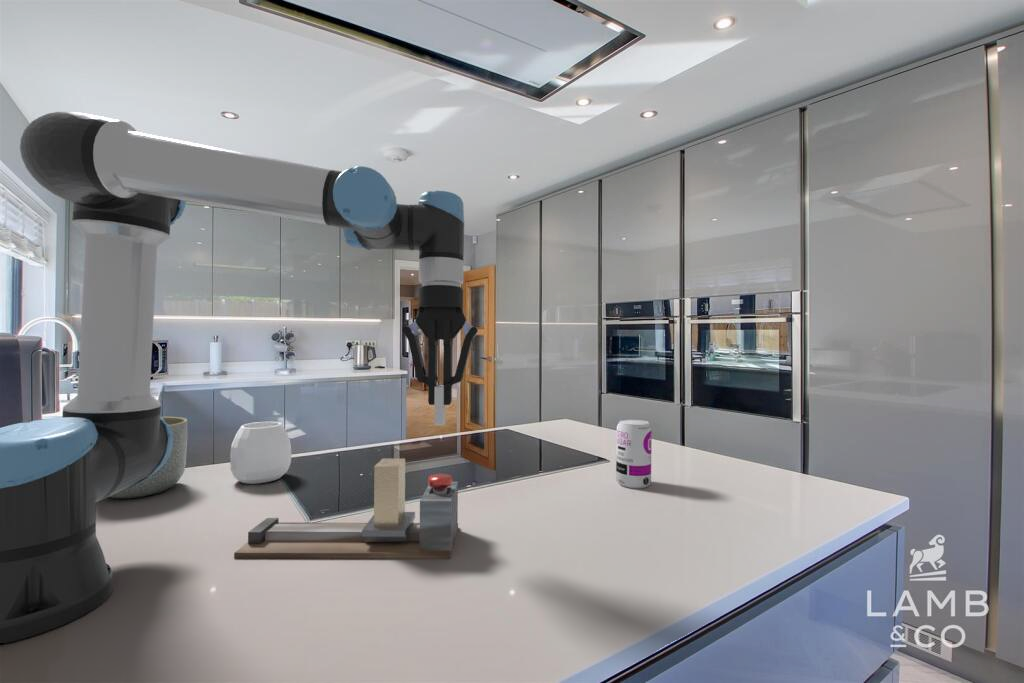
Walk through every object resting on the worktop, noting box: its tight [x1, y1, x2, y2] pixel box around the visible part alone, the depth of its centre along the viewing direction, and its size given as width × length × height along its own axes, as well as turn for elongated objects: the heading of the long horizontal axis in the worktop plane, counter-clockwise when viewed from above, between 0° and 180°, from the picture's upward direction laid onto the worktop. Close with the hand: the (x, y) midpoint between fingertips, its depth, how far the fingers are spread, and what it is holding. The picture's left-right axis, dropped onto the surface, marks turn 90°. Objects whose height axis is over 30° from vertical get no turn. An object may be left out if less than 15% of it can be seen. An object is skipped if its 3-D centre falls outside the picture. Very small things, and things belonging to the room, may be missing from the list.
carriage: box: [362, 458, 416, 542], centre depth 79 cm, size 8×7×12 cm
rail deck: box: [233, 481, 459, 560], centre depth 79 cm, size 12×34×9 cm, turn 91°
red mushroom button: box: [427, 473, 453, 494], centre depth 79 cm, size 4×4×7 cm
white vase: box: [229, 420, 292, 485], centre depth 113 cm, size 13×13×14 cm
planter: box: [109, 416, 189, 499], centre depth 103 cm, size 17×17×15 cm
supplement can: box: [615, 418, 653, 490], centre depth 111 cm, size 8×8×15 cm
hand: (439, 423), depth 79 cm, fingers closed
